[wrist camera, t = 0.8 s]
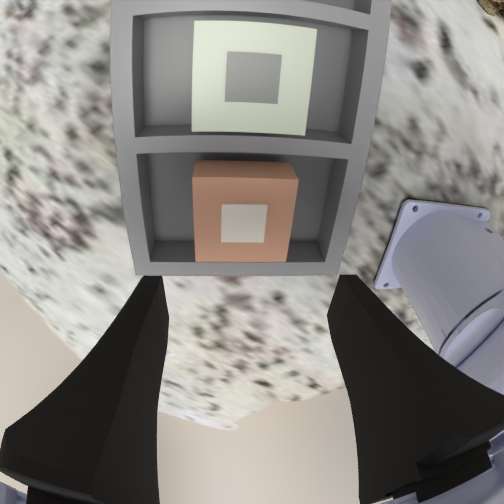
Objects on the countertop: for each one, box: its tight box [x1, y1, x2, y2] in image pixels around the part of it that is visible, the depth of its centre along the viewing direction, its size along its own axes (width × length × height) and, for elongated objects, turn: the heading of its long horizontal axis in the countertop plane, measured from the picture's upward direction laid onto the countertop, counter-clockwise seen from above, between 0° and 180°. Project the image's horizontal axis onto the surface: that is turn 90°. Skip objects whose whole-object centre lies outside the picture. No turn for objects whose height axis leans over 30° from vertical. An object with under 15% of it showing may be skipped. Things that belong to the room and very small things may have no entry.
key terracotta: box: [192, 160, 299, 262], centre depth 15 cm, size 4×4×2 cm
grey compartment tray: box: [110, 0, 392, 276], centre depth 13 cm, size 12×22×3 cm, turn 176°
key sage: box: [192, 21, 317, 136], centre depth 11 cm, size 4×4×2 cm
